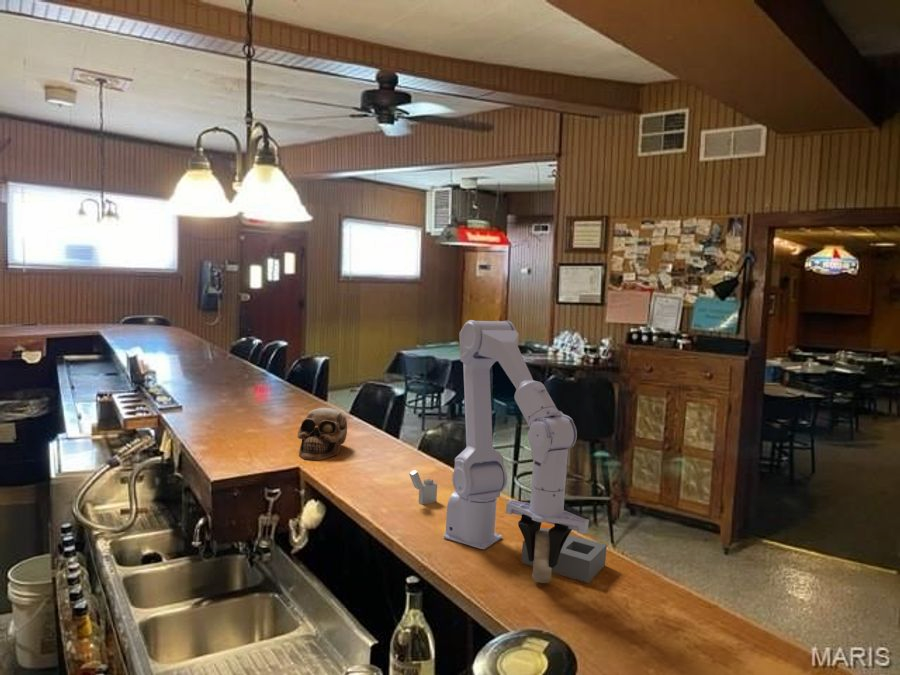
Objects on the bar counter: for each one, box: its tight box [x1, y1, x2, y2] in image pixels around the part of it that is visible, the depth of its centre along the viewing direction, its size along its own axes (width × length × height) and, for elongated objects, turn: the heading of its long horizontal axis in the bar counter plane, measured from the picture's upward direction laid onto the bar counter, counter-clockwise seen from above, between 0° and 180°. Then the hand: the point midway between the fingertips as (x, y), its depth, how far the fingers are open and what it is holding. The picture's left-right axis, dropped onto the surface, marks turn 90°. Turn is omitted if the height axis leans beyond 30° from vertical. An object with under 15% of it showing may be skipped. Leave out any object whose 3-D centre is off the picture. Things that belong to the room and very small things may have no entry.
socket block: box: [520, 527, 608, 584], centre depth 121 cm, size 13×9×4 cm
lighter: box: [408, 469, 438, 505], centre depth 149 cm, size 7×2×8 cm, turn 127°
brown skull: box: [297, 407, 348, 461], centre depth 188 cm, size 16×17×13 cm
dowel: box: [531, 531, 553, 584], centre depth 112 cm, size 3×3×8 cm
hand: (542, 562), depth 112 cm, fingers closed on dowel, 3 cm apart
